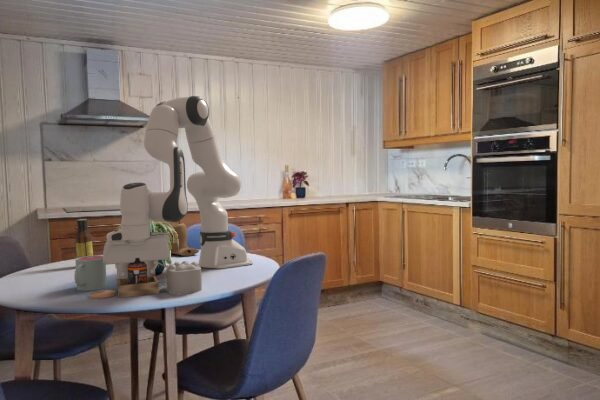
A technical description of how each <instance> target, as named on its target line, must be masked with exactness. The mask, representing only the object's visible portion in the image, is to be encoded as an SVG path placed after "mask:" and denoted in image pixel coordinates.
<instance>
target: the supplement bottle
mask: <svg viewBox="0 0 600 400" xmlns="http://www.w3.org/2000/svg"><path fill="white" fill-rule="evenodd" d="M141 283H147V264H146V263H145V262H141V261H140V258H135V261H134V262H133V263H130V264H129V265H128V285H131V284H141Z"/></svg>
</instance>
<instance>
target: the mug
mask: <svg viewBox="0 0 600 400" xmlns="http://www.w3.org/2000/svg"><path fill="white" fill-rule="evenodd" d="M74 282H75V284H76V290H77V291H85V292H87V291H95V290H96V291H98V290H100V289H101V290H102V289H104V288H106V287H107V267H106V264H104V263H103V255H93V256H85V257H80V258H77V257H76V258H75V270H74Z"/></svg>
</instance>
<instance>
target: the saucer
mask: <svg viewBox="0 0 600 400" xmlns="http://www.w3.org/2000/svg"><path fill="white" fill-rule="evenodd" d="M116 295H117V291H116V290H113V289H103V290H102V289H101V290H96V291H95V290H94V291H92V292H90V293H89V298H90V299H95V300H97V299H98V300H100V299H107V298H112V297H114V296H116Z"/></svg>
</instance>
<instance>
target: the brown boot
mask: <svg viewBox="0 0 600 400" xmlns="http://www.w3.org/2000/svg"><path fill="white" fill-rule="evenodd" d="M170 226H172V227H173V228H174V229H175V231H176V232H177V234H178V239H179V250H178V246H177V243H173V245H172V249H171V248H170V250H171V253H170V254H173V255H178V256H184V257H189V256H194V255H196V254H198V253H200V250H199V249H197V248H193V247H189V246H188V245H187V244H188V243H187V241H188V240H187V239H188V230H187V229H188V228H187V225H186V224H185V223H175V224H172V225H170Z"/></svg>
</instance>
